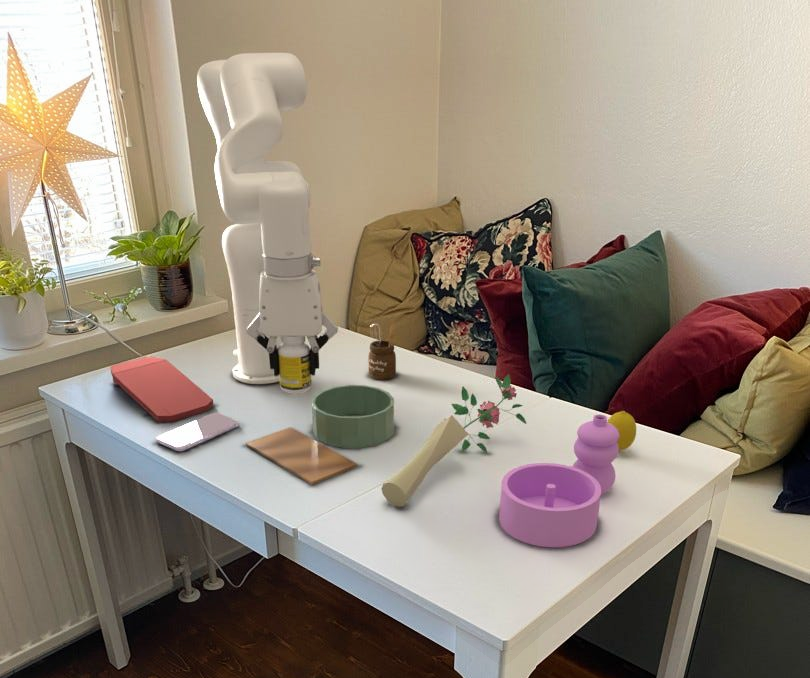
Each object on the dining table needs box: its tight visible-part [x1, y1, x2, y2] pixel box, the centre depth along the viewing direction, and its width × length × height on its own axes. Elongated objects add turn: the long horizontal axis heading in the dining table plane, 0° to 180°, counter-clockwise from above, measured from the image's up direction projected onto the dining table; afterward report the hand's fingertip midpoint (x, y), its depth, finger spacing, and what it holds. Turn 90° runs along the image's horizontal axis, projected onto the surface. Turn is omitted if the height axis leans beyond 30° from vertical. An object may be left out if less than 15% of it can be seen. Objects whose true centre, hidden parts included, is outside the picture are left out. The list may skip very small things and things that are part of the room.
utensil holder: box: [367, 323, 397, 381], centre depth 187 cm, size 6×6×12 cm
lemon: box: [607, 410, 637, 452], centre depth 157 cm, size 6×6×8 cm
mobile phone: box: [155, 412, 240, 452], centre depth 165 cm, size 8×1×15 cm
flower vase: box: [381, 374, 527, 508], centre depth 153 cm, size 12×12×35 cm
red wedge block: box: [109, 355, 214, 423], centre depth 179 cm, size 12×5×25 cm
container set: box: [498, 414, 620, 548], centre depth 139 cm, size 25×15×13 cm, turn 140°
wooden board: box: [245, 427, 358, 486], centre depth 158 cm, size 20×10×1 cm, turn 42°
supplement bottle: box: [278, 336, 312, 394], centre depth 148 cm, size 5×5×10 cm
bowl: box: [311, 384, 395, 449], centre depth 165 cm, size 15×15×6 cm
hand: (295, 371), depth 149 cm, fingers closed on supplement bottle, 5 cm apart
